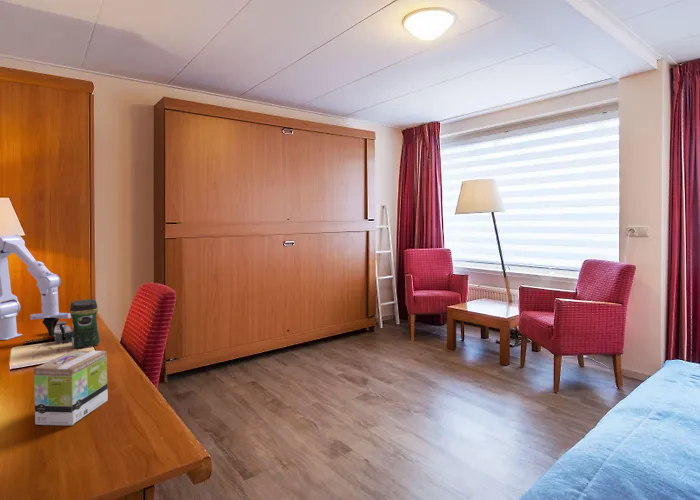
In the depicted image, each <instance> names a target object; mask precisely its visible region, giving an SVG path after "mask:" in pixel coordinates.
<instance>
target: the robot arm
mask: <svg viewBox="0 0 700 500" xmlns="http://www.w3.org/2000/svg"><path fill="white" fill-rule="evenodd" d="M25 244H26V243H25V240H24V239H23V237H22V236H21V235H19V234H13V235H12V234H11V235H10V234H9V235H8V234H7V235H0V340H1V341H7V340H11V339H14V338H17V337H21V336H22V335H23V334H22V333H18V329H17V316H18V313H19V312H20V310H21V304H20V302H19V300H18V296H17V295H15V294H13V293H12V288H11V287H12V286H11V278H10V271H9V269H10V268H9V261H8V257H9V256H10V255H11V254H15V255H16V256H17V257H18V259H20V260H21V261H22V262H23V263H24V264H26V266H27V269H26V270H27V271H28V273H30V275H31V276H32V277H33V278H34V279H35V280H36V287H37V289H39V293H40V298H41V313H31V314H30V315H29V318H30V320H31V321H33V320H42V324H43V326H44V327H45V328H46V330H47V333H49V334H48V337H54V329H55V327H57V325H56V324H57V322H59V320H60V319H67V320H68V319H72V316H71V314H70V312H60V311H59V309H60V308H59V307H60V306H59V291H58V290H59V289H58V288H59V287H60V286H61V283H62V280H61V277H60V276H59V275H58V274H57V273H53V272H51V271H50V270H49V269H48V268H47V266H46V265H45V263H44V262H43V261H39V260H36V259H35V258H34V256H33V254H32V253H31V252H30V251H29V250H28V248H27V247H26V246H25Z"/></svg>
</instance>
